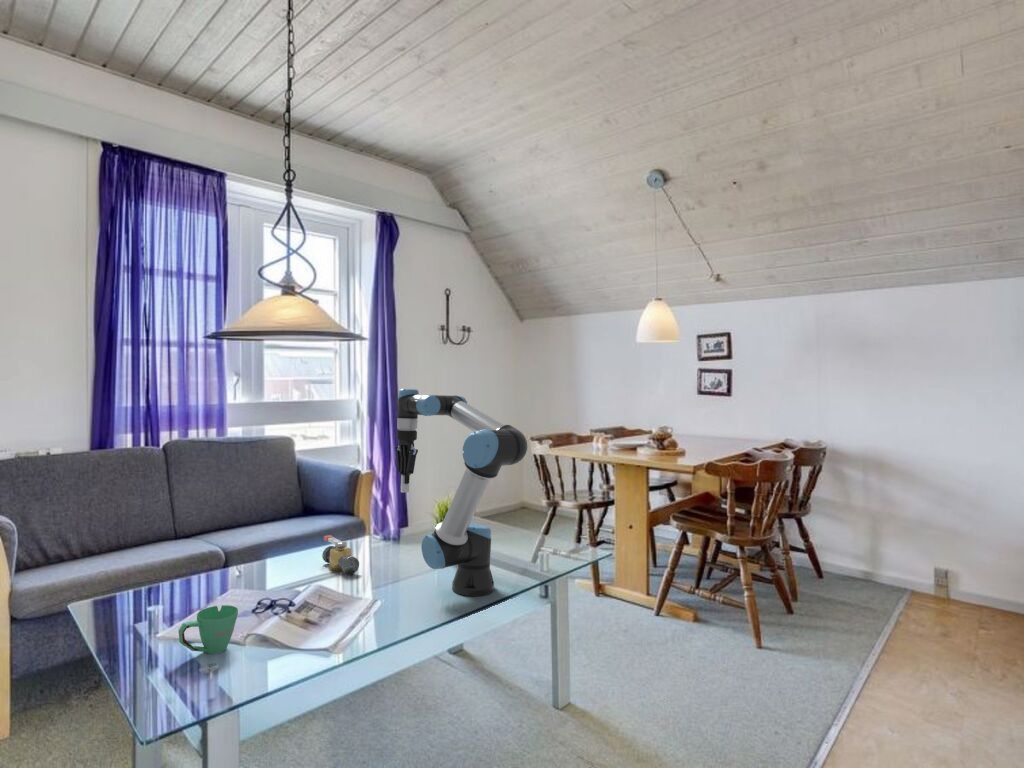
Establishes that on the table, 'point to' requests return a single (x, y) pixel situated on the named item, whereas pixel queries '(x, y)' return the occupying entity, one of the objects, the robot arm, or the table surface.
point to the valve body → (340, 560)
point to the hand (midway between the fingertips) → (404, 492)
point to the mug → (212, 629)
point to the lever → (335, 541)
